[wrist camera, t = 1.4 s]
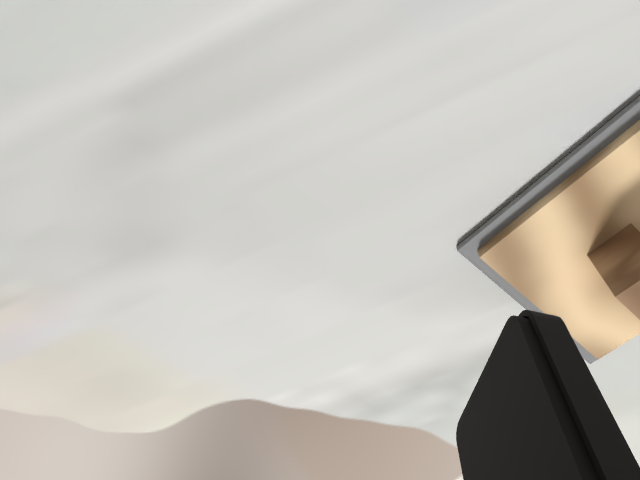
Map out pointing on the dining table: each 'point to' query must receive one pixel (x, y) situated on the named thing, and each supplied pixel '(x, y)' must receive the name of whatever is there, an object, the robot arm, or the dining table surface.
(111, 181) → the dining table surface
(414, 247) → the dining table surface
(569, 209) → the lid
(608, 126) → the mat
